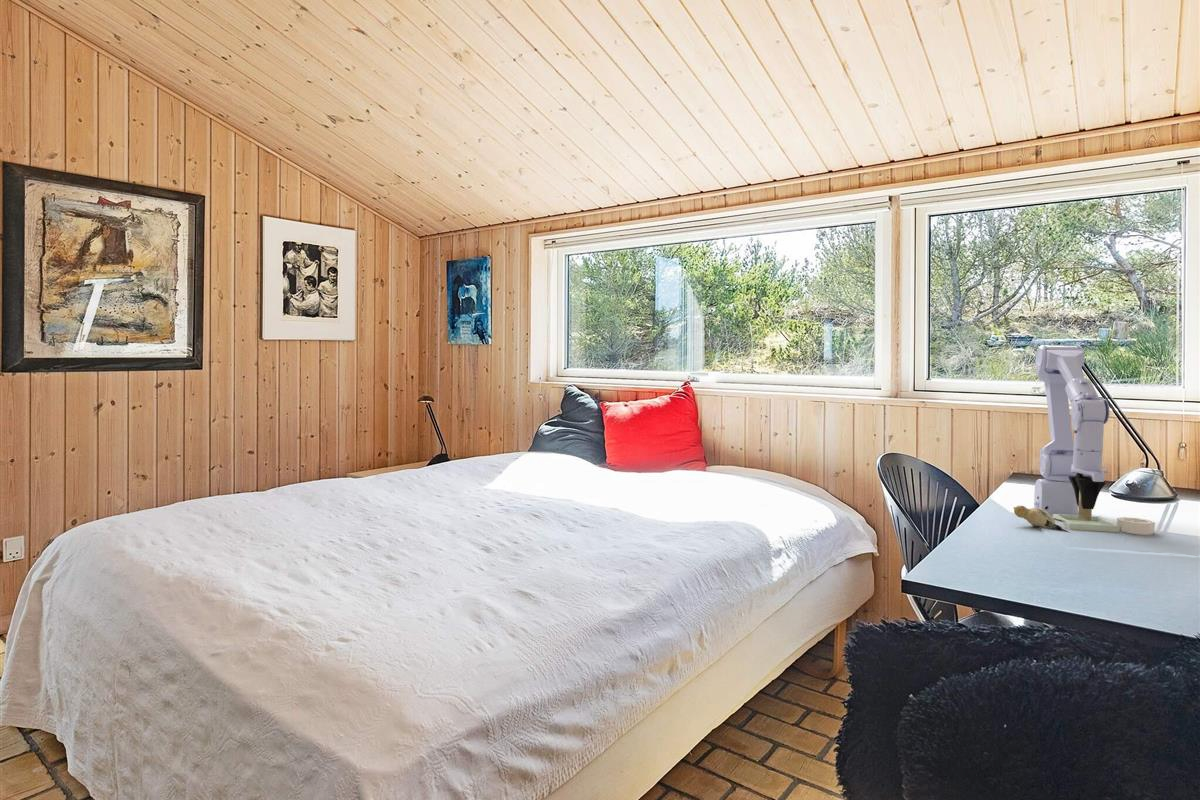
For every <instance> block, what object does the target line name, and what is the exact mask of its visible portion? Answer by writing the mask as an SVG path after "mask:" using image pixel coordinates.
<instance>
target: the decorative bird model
mask: <svg viewBox="0 0 1200 800" xmlns="http://www.w3.org/2000/svg"><path fill="white" fill-rule="evenodd" d="M1013 509H1014V510H1013V511H1014V512H1013V513H1014V514H1015V516H1016V517H1017V518H1020V519H1021V518H1022V519H1024V520H1026V521H1027V522H1028V523H1029V524H1030V525H1031V526H1033V527H1036V528H1038V529H1041V528H1044V529H1045V528H1046V529H1055V530H1057V531H1062V532H1066V533H1069V534H1070V533H1071V532H1070V531H1068V530H1066V529H1065V528H1063V527H1062V526H1061V525H1058V524H1056V521H1055V520H1057V521H1061V522H1065V521H1064V520H1062V519H1060V520H1059V519H1055V518H1053V515H1050V514H1049V513H1048V512H1046V511H1044V510H1042V509H1039V508H1034V507H1032V508H1027V507H1026V506H1024V505H1017V506H1015V507H1013Z"/></svg>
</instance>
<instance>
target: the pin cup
mask: <svg viewBox="0 0 1200 800" xmlns="http://www.w3.org/2000/svg"><path fill="white" fill-rule="evenodd" d="M1116 525H1118V526H1119V532H1123V533H1127V534H1134V535H1142V536H1143V535H1144V536H1150V535H1153V534H1155V527H1156V522H1155V521H1152V520H1150V519H1145V518H1140V517H1129V516H1128V517H1126V516H1122V517H1117V519H1116Z"/></svg>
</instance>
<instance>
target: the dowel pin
mask: <svg viewBox="0 0 1200 800" xmlns="http://www.w3.org/2000/svg"><path fill="white" fill-rule="evenodd" d="M1092 511H1093V509H1083V508H1082V505H1081V495H1080V490H1079V507H1078V519H1079V520H1083V521H1091V516H1093V515H1092Z"/></svg>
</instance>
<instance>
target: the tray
mask: <svg viewBox="0 0 1200 800" xmlns="http://www.w3.org/2000/svg"><path fill="white" fill-rule="evenodd" d="M1052 517H1053V518H1055V519H1059V520H1060V519H1062V520H1064V521H1065V522H1061V521H1057V520H1054V521H1055V523H1056V522H1057V523H1058V524H1060V526H1063V527H1065V528H1066V529H1069V530H1077V531H1092V532H1093V531H1094V532H1095V531H1096V532H1108V533H1109V532H1111V533H1112V532H1113V533H1119V532H1120V531H1119V526H1118V525H1117V523H1114V522H1111V521H1109V520H1108V519H1106V518H1103V517H1101V516H1099V515H1098V516H1095V515H1091V521H1083V520H1079V519H1078V515H1065V514H1053V515H1052Z"/></svg>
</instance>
